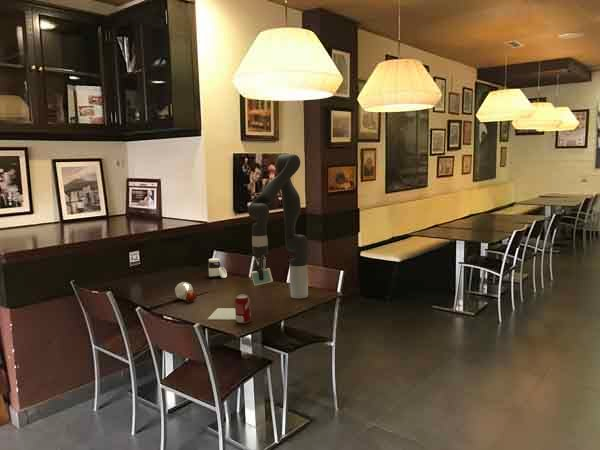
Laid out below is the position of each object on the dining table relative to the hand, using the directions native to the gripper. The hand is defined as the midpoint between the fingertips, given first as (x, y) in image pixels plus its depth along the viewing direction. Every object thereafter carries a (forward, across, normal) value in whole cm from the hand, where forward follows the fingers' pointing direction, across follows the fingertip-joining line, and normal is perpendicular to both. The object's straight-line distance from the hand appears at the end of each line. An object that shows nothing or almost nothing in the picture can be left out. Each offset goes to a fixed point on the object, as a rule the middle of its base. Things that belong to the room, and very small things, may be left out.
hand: (261, 279), depth 239 cm
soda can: (+15, +18, -5) cm, 25 cm away
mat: (+15, +8, -16) cm, 24 cm away
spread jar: (+15, -66, -43) cm, 80 cm away
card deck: (+2, 0, +1) cm, 2 cm away
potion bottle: (+15, -16, -45) cm, 50 cm away
